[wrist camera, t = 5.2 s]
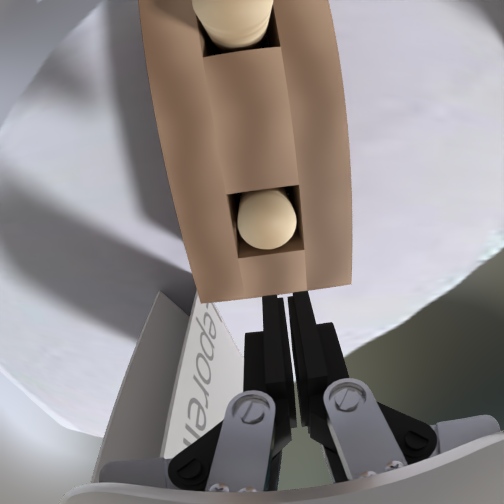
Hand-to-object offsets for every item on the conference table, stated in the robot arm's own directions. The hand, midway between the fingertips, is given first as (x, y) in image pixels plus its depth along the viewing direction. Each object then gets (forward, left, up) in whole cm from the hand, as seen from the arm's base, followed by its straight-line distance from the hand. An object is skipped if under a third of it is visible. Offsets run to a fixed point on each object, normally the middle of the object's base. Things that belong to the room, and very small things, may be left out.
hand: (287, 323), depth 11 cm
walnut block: (0, -7, -18) cm, 20 cm away
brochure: (+9, +16, -19) cm, 26 cm away
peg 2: (0, 0, -18) cm, 18 cm away
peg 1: (0, -14, -14) cm, 20 cm away
